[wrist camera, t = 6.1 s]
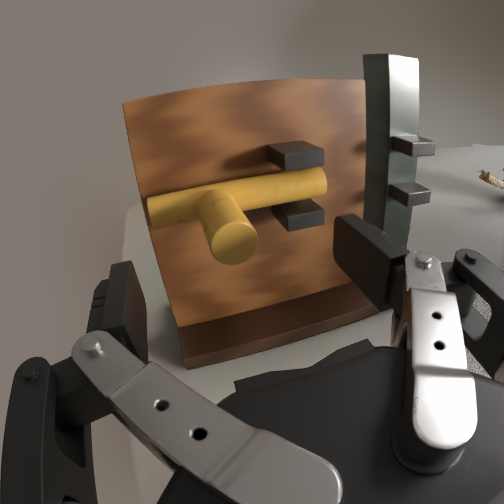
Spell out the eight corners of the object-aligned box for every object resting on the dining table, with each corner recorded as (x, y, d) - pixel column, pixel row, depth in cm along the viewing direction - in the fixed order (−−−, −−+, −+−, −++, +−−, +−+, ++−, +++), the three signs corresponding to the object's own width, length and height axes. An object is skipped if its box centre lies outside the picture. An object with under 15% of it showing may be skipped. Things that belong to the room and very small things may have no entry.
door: (186, 370, 21) (107, 63, 11) (175, 301, 27) (126, 74, 18) (420, 296, 25) (448, 61, 15) (372, 252, 31) (378, 58, 21)
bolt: (155, 284, 13) (143, 241, 12) (154, 223, 18) (146, 191, 17) (369, 234, 14) (372, 195, 13) (314, 192, 20) (313, 162, 19)
